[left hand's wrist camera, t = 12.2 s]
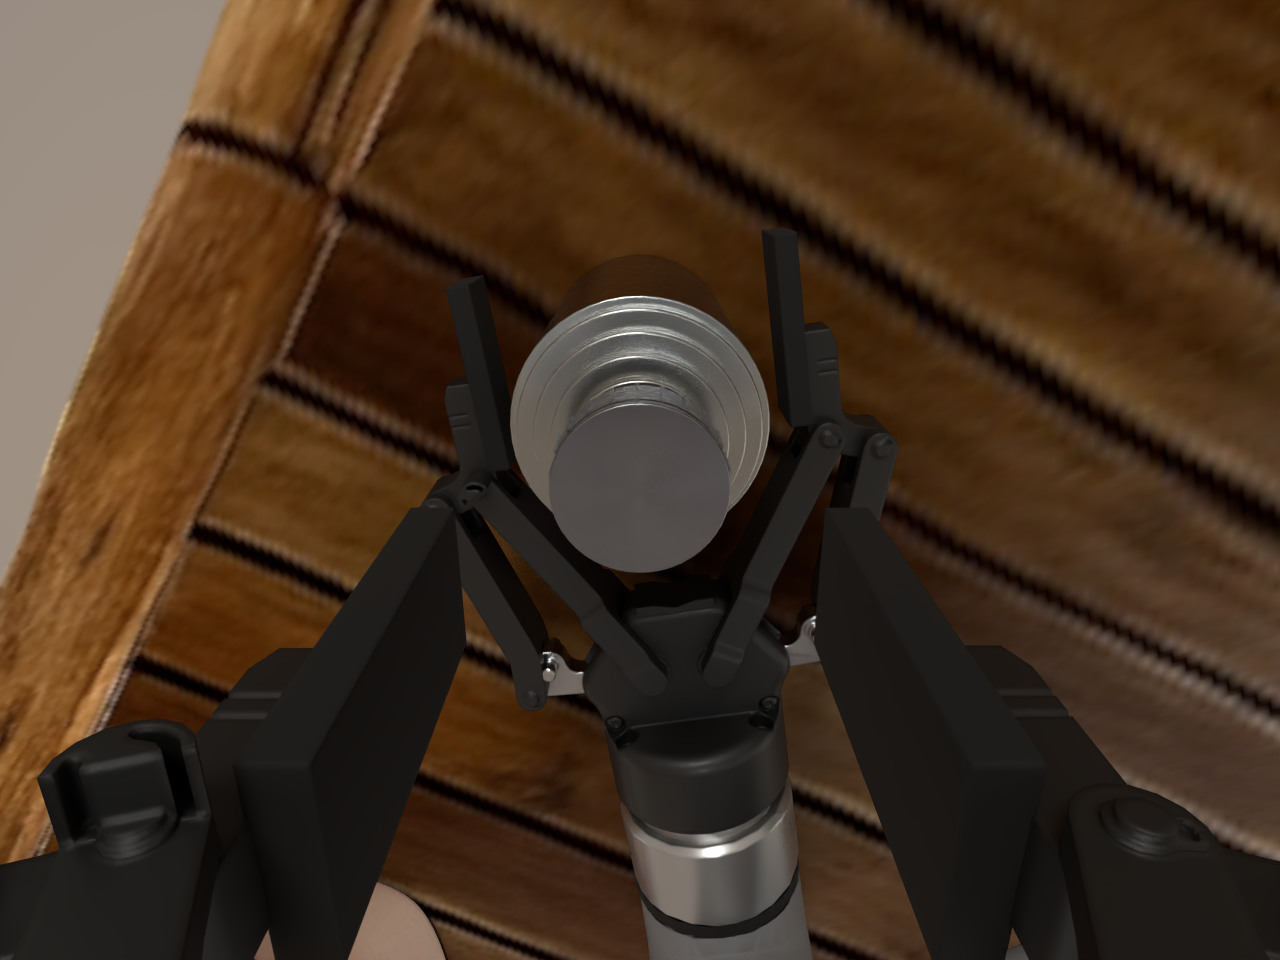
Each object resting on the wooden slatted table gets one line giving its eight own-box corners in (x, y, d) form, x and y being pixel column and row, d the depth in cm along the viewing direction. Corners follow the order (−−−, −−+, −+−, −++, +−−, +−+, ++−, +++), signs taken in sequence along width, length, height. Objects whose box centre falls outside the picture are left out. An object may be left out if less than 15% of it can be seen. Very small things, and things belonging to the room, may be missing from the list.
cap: (759, 437, 20) (770, 460, 18) (667, 571, 21) (669, 605, 19) (609, 349, 19) (606, 364, 17) (523, 494, 20) (513, 521, 19)
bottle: (760, 314, 34) (865, 432, 18) (668, 456, 36) (690, 672, 20) (608, 219, 33) (578, 258, 17) (522, 374, 35) (425, 535, 19)
